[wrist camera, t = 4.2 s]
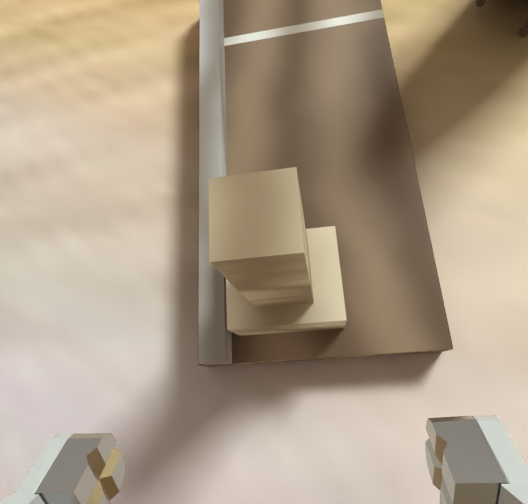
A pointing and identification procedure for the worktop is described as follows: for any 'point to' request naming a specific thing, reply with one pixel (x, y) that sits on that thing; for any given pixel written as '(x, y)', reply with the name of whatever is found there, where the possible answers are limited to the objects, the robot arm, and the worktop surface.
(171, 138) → the worktop surface
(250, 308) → the stacked beige blocks
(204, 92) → the walnut board
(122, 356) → the worktop surface
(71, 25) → the worktop surface
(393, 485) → the worktop surface
